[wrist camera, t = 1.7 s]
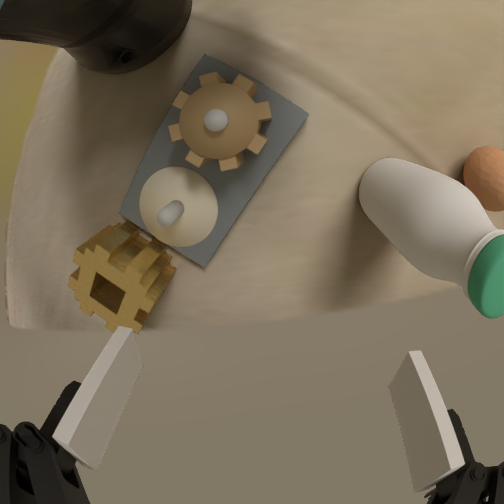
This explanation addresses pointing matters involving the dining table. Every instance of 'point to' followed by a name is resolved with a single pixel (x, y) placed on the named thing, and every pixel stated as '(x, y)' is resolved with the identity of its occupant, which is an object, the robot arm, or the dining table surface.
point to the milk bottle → (437, 228)
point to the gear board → (209, 158)
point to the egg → (486, 177)
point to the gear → (120, 276)
